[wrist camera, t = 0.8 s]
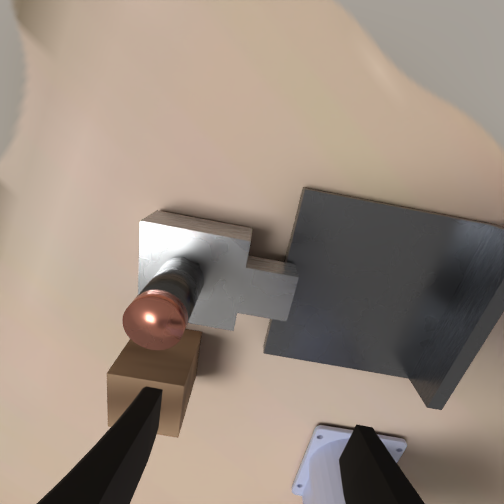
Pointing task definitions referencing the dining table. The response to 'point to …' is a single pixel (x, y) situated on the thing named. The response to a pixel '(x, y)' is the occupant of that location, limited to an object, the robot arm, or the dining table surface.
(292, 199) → the dining table surface
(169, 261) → the ram
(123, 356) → the wooden block
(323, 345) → the metal bracket
